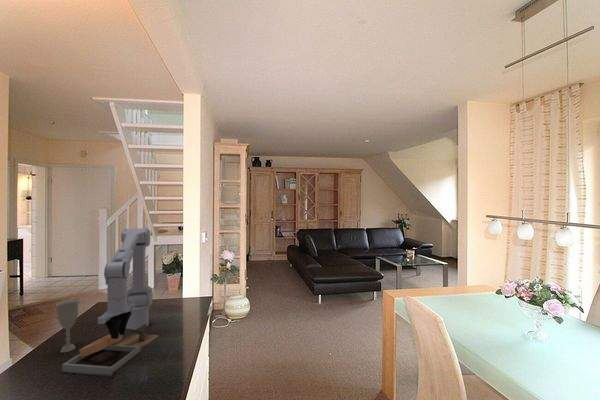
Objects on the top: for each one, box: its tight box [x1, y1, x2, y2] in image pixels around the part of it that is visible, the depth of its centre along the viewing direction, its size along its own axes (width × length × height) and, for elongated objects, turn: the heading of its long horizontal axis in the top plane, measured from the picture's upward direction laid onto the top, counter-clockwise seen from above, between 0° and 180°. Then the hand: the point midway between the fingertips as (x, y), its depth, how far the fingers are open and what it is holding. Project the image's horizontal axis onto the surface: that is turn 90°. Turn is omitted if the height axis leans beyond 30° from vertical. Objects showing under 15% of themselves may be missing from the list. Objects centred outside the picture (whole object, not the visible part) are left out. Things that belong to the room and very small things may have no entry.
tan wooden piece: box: [115, 324, 160, 349], centre depth 112 cm, size 12×10×6 cm
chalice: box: [55, 299, 80, 353], centre depth 106 cm, size 7×7×18 cm
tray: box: [61, 344, 142, 378], centre depth 99 cm, size 18×14×3 cm
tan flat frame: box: [78, 333, 124, 357], centre depth 101 cm, size 13×9×2 cm
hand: (117, 336), depth 99 cm, fingers closed on tan flat frame, 2 cm apart
